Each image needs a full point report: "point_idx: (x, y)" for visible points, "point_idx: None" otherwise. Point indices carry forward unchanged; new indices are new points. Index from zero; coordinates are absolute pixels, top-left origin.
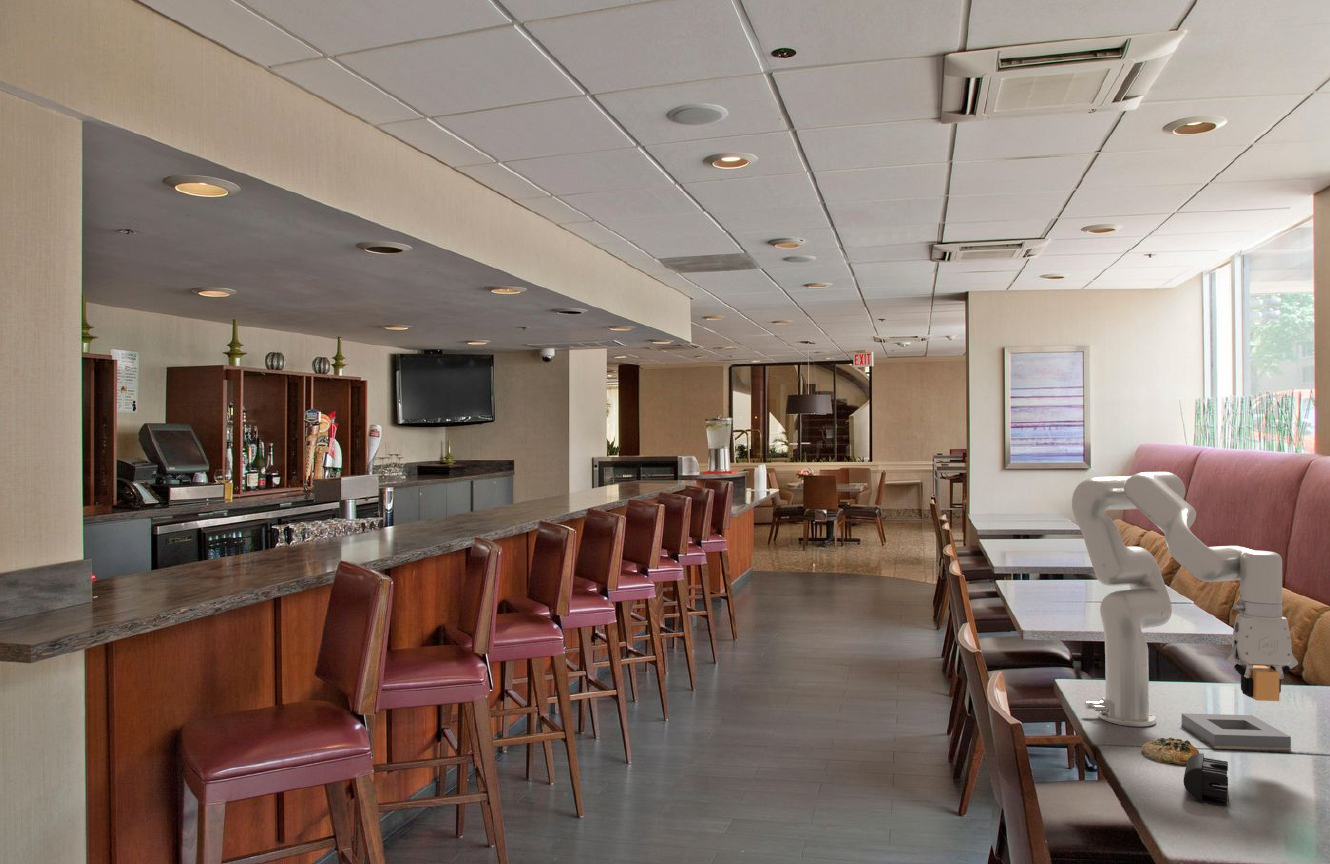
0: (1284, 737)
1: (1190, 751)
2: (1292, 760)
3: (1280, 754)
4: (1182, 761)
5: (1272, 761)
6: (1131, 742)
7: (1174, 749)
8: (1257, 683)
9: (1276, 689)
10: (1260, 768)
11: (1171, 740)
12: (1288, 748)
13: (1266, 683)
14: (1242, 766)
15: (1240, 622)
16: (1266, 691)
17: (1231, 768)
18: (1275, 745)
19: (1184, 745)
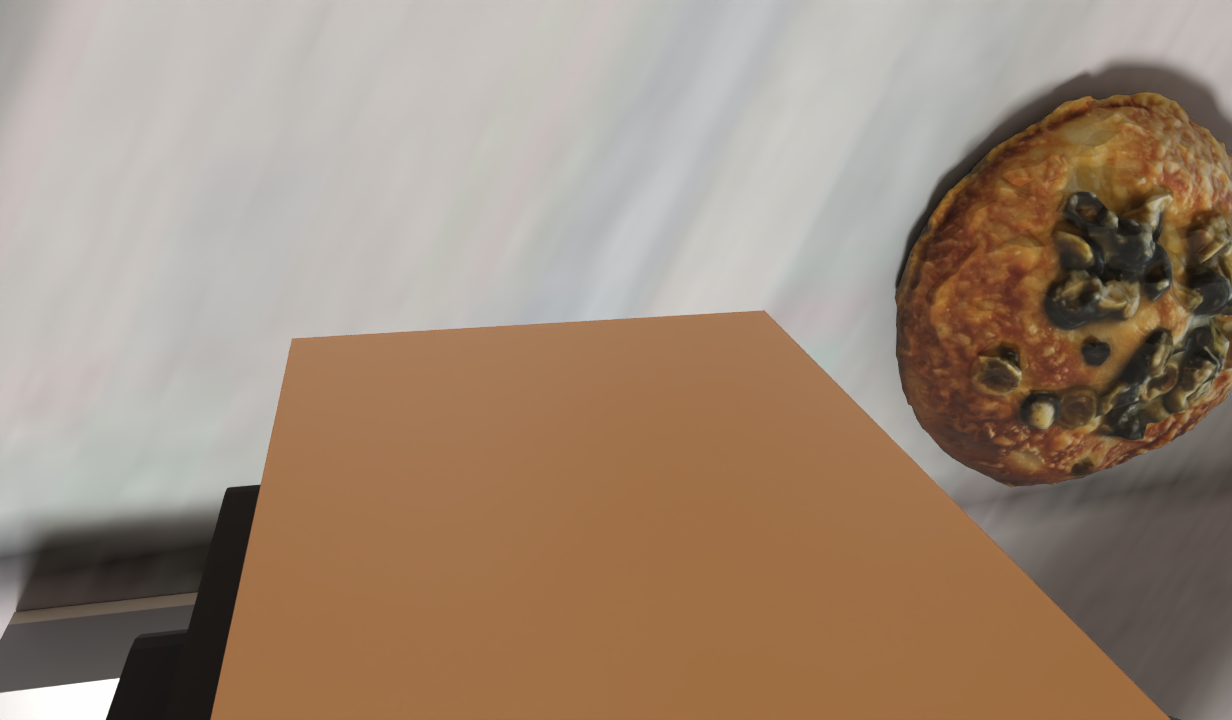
0: (38, 682)
1: (1055, 212)
2: (106, 361)
3: (153, 500)
4: (1131, 104)
5: (309, 306)
6: (1138, 552)
7: (1164, 228)
8: (922, 493)
9: (350, 458)
10: (510, 99)
11: (1165, 331)
12: (31, 620)
13: (669, 521)
14: (643, 136)
15: None
16: (613, 406)
17: (765, 70)
18: (144, 621)
19: (1098, 263)
